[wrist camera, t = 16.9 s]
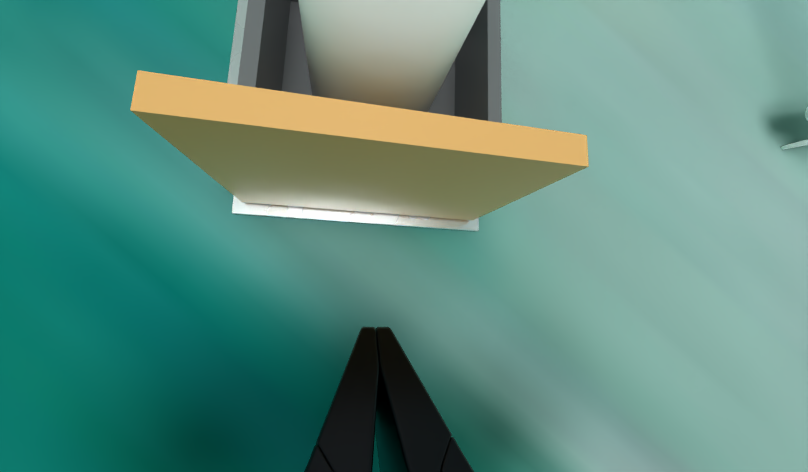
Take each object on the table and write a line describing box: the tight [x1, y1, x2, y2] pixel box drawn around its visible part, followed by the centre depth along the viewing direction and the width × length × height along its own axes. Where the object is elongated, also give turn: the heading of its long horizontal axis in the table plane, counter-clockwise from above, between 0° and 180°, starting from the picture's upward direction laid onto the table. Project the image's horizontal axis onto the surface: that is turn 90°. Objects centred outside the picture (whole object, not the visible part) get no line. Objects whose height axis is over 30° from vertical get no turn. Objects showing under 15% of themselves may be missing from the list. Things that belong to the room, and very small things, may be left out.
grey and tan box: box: [131, 0, 589, 220], centre depth 13 cm, size 11×12×8 cm
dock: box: [227, 0, 501, 231], centre depth 15 cm, size 13×13×6 cm
